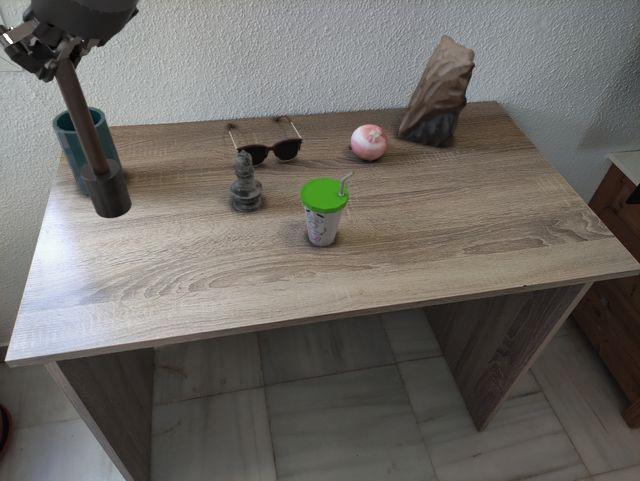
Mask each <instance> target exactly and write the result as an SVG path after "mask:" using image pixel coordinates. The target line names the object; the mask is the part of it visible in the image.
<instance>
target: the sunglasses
mask: <svg viewBox="0 0 640 481" xmlns="http://www.w3.org/2000/svg"><path fill="white" fill-rule="evenodd" d="M281 118H286V119H287V120H288V122H289V123H290V124H291V126H292V127H293V130H294V131H295V133H296V134H297V136H298V137H295V138H286V139H283V140H279V141H277V142H275V143H274V144H272V145H269V146H268V145H266V144H259V143H255V144H252V143H251V144H247V145H246V144H245V145H243V146H239V147H237V144H236V143H235V140H234V139H233V135H232V133H231V129H230V128H232V127H233V124H232V123H230V122H226V128H227V131H228V133H229V135H230V138H231V141H232V143H233V145H234V148H235V151H236V153H237V154H238V153H241V151H242V150H244V151H245V152H247V153H249V154H250V155H251V157H252V166H253V167H258V166H260V165H262V164H263V163H264V162H265V160H266V159H267V158H268V156H269V153H270V152H271V151H272V153H273V154H274V156H275V158H277V159H278V160H279V161H280V162H289V161H292V160H294V159H296V157H297V156H298V154H299V152H300V151H301V146H302V144H303V143H304V139H303V138H302V136H301V135H300V133H299V132H298V130H297V128H296V127H295V125H294V123H293V120H291V118H290V116H288V115H286V114H284V115H283V114H282V115H280V116H277V117H275V121H279V120H280V119H281Z"/></svg>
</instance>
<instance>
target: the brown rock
mask: <svg viewBox="0 0 640 481" xmlns="http://www.w3.org/2000/svg"><path fill="white" fill-rule="evenodd" d="M475 57H476V54H475V51H474V49H472V48H467V47H466V46H465V45H464V44H463V45H462V44H460V43H457V42H456V41H454V39H453V37H451V36H449V35H447V34H443V35H442V36H441V38H440V41H439V42H438V44H437V46H436V47H435V49H434V51H432V54H431V56H430V57H429V59H428V62H427V64H426V66H425V68H424V71H423V73H422V75H421V77H420V79H419V81H418V83H417V85H416V86H415V89H414V90H413V93H412V95H411V96H410V98H409V102H408V104H407V107H406V109H405V112H404V114H403V116H402V118H401V121H400V122H401V123H400V125H399V128H398V133H397V134H398V135H397V139H400V140H404V141H410V142H413V143H420V144H423V145H427V146H434V147H435V148H448V147H450V145H451V143H452V142H451V140H452V138H454V135H455V132H456V130H457V127H458V124H459V121H460V118H459V117H460V114H461V112H462V111H463V110H464V109H465V108H466V107H467V104H468V98H467V90H468V87H469V85H470V82H471V79H472V78H473V77H472V76H473V71H474V70H475V69H474V68H476V64H475V62H474V60H475Z"/></svg>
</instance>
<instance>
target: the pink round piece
mask: <svg viewBox="0 0 640 481" xmlns="http://www.w3.org/2000/svg"><path fill="white" fill-rule="evenodd" d="M387 148H388V137H387V134H386V132H385V130H384V129H383V128H381V127H380V126H379V125H376V124H364V125H360V126H358V128H356V129H355V130H354V131H353V133H352V134H351V137H350V145H348V147H347V149H348V150H351V151H352V153H353V154H354V155H355V156H357V157H358V158H359V159H361V160H365V161H367V162H368V163H371V162H372V161H374V160H377V159H379V158H381V157H382V156H383V155H384V154H385V153H386V151H387Z"/></svg>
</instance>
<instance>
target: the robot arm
mask: <svg viewBox="0 0 640 481" xmlns="http://www.w3.org/2000/svg"><path fill="white" fill-rule="evenodd" d="M139 2H140V0H30V4H29V5H28V6H27V8H26V9H25V10H24V11H23V13H22V16H21V19H22V21H23V22H22V23H20V24H18V25H17V26H16V27H14V26H13V25H11V26H8V27H6V26H5V25H4V24H0V48H1V49H2V50H3V52H4V53H5V54H6V55H7V57H8V58H9V59H10V61H12V62H13V63H15V64H16V65H18V66H20V67H21V68H22V69H24V70H25V71H26V72H28V73H30V74H34V75H35V76H36V78H37V79H38V81H42V82H43V83H45V84H47V83H49V82H53V81H54V79H55V73H56V71H57V69H58V66H59V65H58V64H59V62H60V60H61V59H64V58H67V57H69V55H70V56H71V59H72V62H73V65H74V68H75V71H77V68H78V66H79V64H80V62H81V60H82V58H83V57H86V56H87V55H89V54H90V53H91V51H92V48H95V47H97V48H102V47H104V46H106V44H107V43H108V42H109V41H110V40H111V39H112V38H114V36H116V35H118V34H120V32H121V31H123V29H125V27H126V26H127V24H128V23H129V22H130V21H132V20H133V18H135V17H136V16H137V15H138V14H139V13H140V10H139V9H138V7H137V6H138V4H139Z"/></svg>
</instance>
